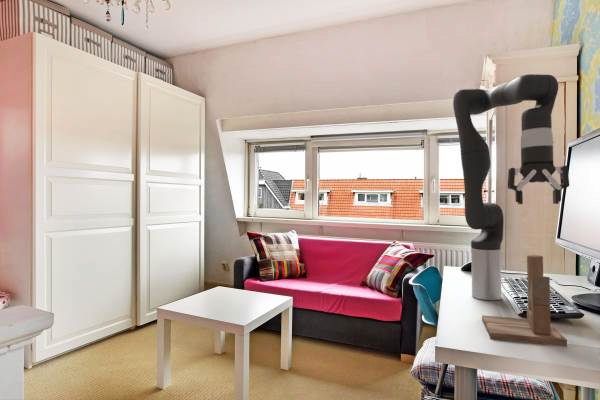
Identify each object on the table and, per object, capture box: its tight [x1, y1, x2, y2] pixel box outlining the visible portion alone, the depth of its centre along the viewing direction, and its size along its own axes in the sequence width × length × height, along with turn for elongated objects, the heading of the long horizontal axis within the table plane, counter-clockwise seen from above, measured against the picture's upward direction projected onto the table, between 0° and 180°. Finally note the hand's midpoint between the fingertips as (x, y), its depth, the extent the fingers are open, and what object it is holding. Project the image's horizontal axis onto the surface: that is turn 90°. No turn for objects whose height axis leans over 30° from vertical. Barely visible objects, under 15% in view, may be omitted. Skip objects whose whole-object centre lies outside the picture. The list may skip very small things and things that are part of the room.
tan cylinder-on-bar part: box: [526, 254, 551, 335], centre depth 91 cm, size 4×11×18 cm, turn 155°
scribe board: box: [481, 314, 568, 347], centre depth 93 cm, size 14×16×2 cm
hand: (537, 204), depth 100 cm, fingers open, 8 cm apart
